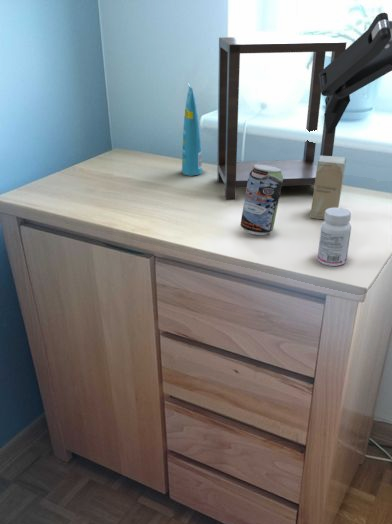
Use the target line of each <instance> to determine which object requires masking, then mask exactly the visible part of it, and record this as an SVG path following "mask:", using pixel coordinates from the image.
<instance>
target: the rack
mask: <svg viewBox="0 0 392 524" xmlns="http://www.w3.org/2000/svg"><path fill="white" fill-rule="evenodd" d="M346 49H347V42H346V41H344V40H340V39H337V38H334V37H331V36H327V35H293V36H292V35H287V36H286V35H285V36H284V35H283V36H282V35H281V36H280V35H279V36H234V37H233V36H229V37H226V36H225V37H223V36H222V37H218V79H217V80H218V83H217V84H218V85H217V86H218V89H217V91H218V94H217V155H216V156H217V161H216V163H217V164H216V167H217V168H216V172H217V173H216V180H217V183H218V184H219V183H223V184H224V198H225V201H233V200H234V201H235V200H236V195H237V193H236V192H237V190H236V189H240V188H241V189H242V188H243V189H244V188H247V183H248V177H249V173H250V171H251V170H252V169H253V167H254V165H255V164H264V165H271V166H275V167H278V168H280V169H281V170H282V171H281V173H282V175H283V182H282V187H290V186H291V187H293V186H312V185H313V186H314V185H315V178H316V171H317V164H318V163H316V162H315V155H316V154H315V153H316V145H317V142H316V143H313V142H309V141H308V140H307V141H306V142H305V141H304V145H303V146H304V147H303V155H302V156H303V157H302V159H279V160H256V161H255V160H253V161H237V160H238V159H237V158H238V130H239V129H238V128H239V127H238V126H239V99H240V98H239V96H240V95H239V94H240V69H241V68H240V66H241V65H240V63H241V54H280V53H283V54H284V53H289V54H290V53H313V54H312V55H313V56H312V64H311V73H310V74H311V76H310V85H309V96H308V107H307V114H306V127H305V130H306V129H307V130H308V131H309V132H310V131H313V130H314V131H315V130H317V131H318V127H319V117H320V109H321V108H320V107H321V97H322V93H321V86H320V78H319V73H320V72H321V71H322V70H323V69H324V68H325V62H326V53H328V52H329V53H330V52H331V56H330V63H331V62H332V61H333V60H334V59H336V58H337V57H338V56H339V55H340V54H341V53H342V52H343V51H344V50H346ZM325 112H326V107H325V108H324V113H325ZM336 129H337V127H336V128H335V130H334V132H333V134H327V132H326V125H325V117H323V126H322V135H321V136H322V137H321V143H320V144H321V146H320V153H319V157H320V156H333V154H334V153H333V152H334V145H335V138H336V131H337V130H336Z"/></svg>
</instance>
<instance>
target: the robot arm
mask: <svg viewBox="0 0 392 524" xmlns="http://www.w3.org/2000/svg"><path fill="white" fill-rule="evenodd" d="M390 72H392V20H389V15H388V13H387V12H380V13H378V14H377V15H376V16H375V17H374V19H373V21H372V22H371V24H370V26H369V27H368V28H367V30H366V31H365V32H364V33H362V34H361V35H360V36H359V37H357V38H356V40H354V41H353V42H352V43H351V44H350V45H349V46H348V47H346V50H344V51H343V52H342V53H341V54H340V55H339V56H338V57H337V58H336V59H334V60H333V61H332V62H331V61H330V62H329V64H327V66H324V69H323V70H322V71H321V72H320V73H319V78H320V86H321V96H322V97H325V98H324V103H325V108H326V112H325V111H324V114H323V116H324V117H325V125H326V132H327V134H333V132H334V130H335V128H336V129H337V126H338V125H339V122H340V121H341V119H342V117H343V115H344V113H345V111H346V109H347V108H348V106H349V104H350V102H351V96H350V95H351V94H354V93H355V92H357V91H359V90H361V89H362V88H365V87H366V86H368V85H369V84H371V83H373V82H374V81H377V80H378V79H380V78H381V77H384V76H385V75H387V74H388V73H390ZM324 117H323V118H324ZM335 131H336V130H335Z"/></svg>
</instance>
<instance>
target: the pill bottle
mask: <svg viewBox="0 0 392 524" xmlns="http://www.w3.org/2000/svg"><path fill="white" fill-rule="evenodd" d="M351 217H352V211H351V210H349V209H347V208H344V207H339V208H338V207H334V208H328V209H326V211H325V216H324V218H325V219H324V221H322V223H321V226H320V232H319V241H318V250H317V260H318V262H319V263H321V264H322V265H325V266H329V267H337V266H342V265H344V264H345V263H346V262H347V260H348V253H349V246H350V240H351V232H352V224H351V219H352V218H351Z"/></svg>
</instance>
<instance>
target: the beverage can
mask: <svg viewBox="0 0 392 524" xmlns="http://www.w3.org/2000/svg"><path fill="white" fill-rule="evenodd" d="M281 171H282V170H281V169H280V168H278V167H275V166H271V165H264V164H255V165H254V167H253V169H252V170H251V171H250V173H249V177H248V183H247V187H246V190H245V195H244V201H243V207H242V213H241V219H240V227H241V228H243V231H245V232H246V233H249V234H252V235H257V236H265V235H268V234H269V233H271V232H273V230H274V226H275V222H276V217H277V213H278V212H277V211H278V207H279V202H280V196H281V193H282V187H283V186H282V182H283V175H282V173H281Z"/></svg>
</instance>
